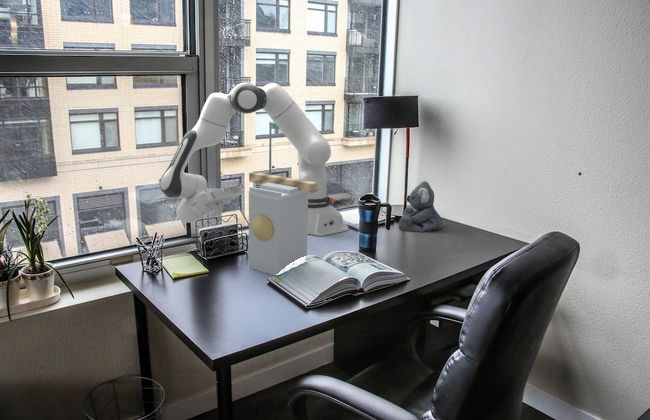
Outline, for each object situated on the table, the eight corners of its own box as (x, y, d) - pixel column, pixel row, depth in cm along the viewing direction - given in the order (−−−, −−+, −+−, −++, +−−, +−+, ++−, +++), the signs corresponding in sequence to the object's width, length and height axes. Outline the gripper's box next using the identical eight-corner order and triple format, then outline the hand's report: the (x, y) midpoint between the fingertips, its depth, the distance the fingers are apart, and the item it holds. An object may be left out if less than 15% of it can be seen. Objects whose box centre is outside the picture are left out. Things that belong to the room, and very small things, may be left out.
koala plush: (402, 220, 240) (405, 177, 235) (443, 224, 236) (447, 180, 231) (397, 231, 224) (400, 185, 219) (441, 235, 220) (445, 188, 215)
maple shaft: (249, 181, 185) (249, 173, 184) (254, 180, 188) (254, 171, 187) (312, 193, 172) (312, 183, 171) (317, 191, 174) (317, 182, 173)
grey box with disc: (247, 268, 177) (246, 188, 170) (278, 254, 191) (279, 179, 184) (276, 277, 171) (276, 193, 164) (306, 262, 185) (308, 184, 178)
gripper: (184, 197, 191) (209, 183, 183) (224, 188, 208) (248, 174, 200) (191, 214, 191) (216, 200, 183) (231, 203, 208) (255, 190, 200)
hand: (233, 187), depth 192 cm, fingers open, 8 cm apart
